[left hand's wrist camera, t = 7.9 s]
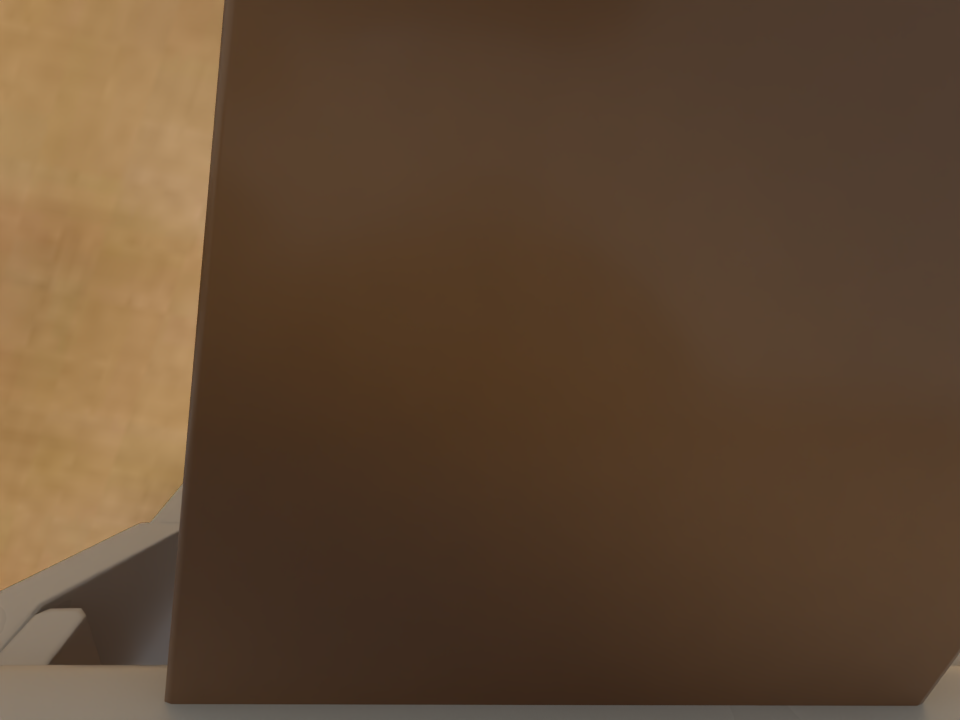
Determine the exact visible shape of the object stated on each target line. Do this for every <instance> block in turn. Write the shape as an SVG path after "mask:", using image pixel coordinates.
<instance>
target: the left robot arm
mask: <svg viewBox="0 0 960 720" xmlns="http://www.w3.org/2000/svg"><path fill="white" fill-rule="evenodd" d="M182 490H183V484H182V485H181V486H180V487H179V488H178V490H177V491H176V492H175V493H174V494H173V496H172V497H171V498H170V499H169V500H168V502H167V503H166V504H165V505H164V506H163V508H162V509H161V510H160V511H159V512H158V514H157V515H156V516H155V517H154V518H153V520H152V521H151V522H150V523H139V524H137V525H135V526H133V527H131V528H128V529H126V530H124V531H122V532H120V533H118V534H116V535H114V536H112V537H110V538H108V539H106V540H104V541H102V542H100V543H98V544H96V545H94V546H92V547H90V548H88V549H85V550H83V551H81V552H79V553H77V554H75V555H73V556H71V557H69V558H67V559H65V560H63V561H61V562H59V563H57V564H55V565H53V566H51V567H49V568H47V569H45V570H43V571H40V572H38V573H36V574H34V575H32V576H30V577H28V578H26V579H24V580H22V581H20V582H18V583H16V584H14V585H12V586H10V587H8V588H6V589H4V590H2V591H0V720H960V653H959V655H958V656H957V657H956V659H955V660H954V661H953V663H952V664H951V666H950V667H949V668H948V670H947V671H946V672H945V674H944V675H943V676H942V678H941V679H940V680H939V682H938V683H937V685H936V686H935V687H934V689H933V690H932V691H931V693H930V694H929V695H928V697H927V698H926V699H925V701H924V702H923V703H922V704H920V705H918V706H758V705H329V704H170V703H167V702H164V701H165V688H166V676H167V665H168V653H169V641H170V630H171V618H172V606H173V595H174V583H175V572H176V560H177V548H178V537H179V525H180V513H181V502H182Z"/></svg>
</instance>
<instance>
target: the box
mask: <svg viewBox="0 0 960 720" xmlns="http://www.w3.org/2000/svg"><path fill="white" fill-rule="evenodd" d="M959 653H960V0H225V1H224V13H223V24H222V36H221V48H220V59H219V71H218V83H217V94H216V106H215V118H214V129H213V141H212V153H211V164H210V176H209V187H208V199H207V211H206V222H205V234H204V246H203V257H202V269H201V281H200V292H199V304H198V315H197V327H196V339H195V350H194V362H193V374H192V385H191V397H190V409H189V420H188V432H187V444H186V455H185V467H184V478H183V490H182V502H181V513H180V525H179V537H178V548H177V560H176V572H175V583H174V595H173V606H172V618H171V630H170V641H169V653H168V665H167V676H166V688H165V701H164V702H167V703H170V704H329V705H758V706H918V705H920V704H922V703H923V702H924V701H925V699H926V698H927V697H928V695H929V694H930V693H931V691H932V690H933V689H934V687H935V686H936V685H937V683H938V682H939V680H940V679H941V678H942V676H943V675H944V674H945V672H946V671H947V670H948V668H949V667H950V666H951V664H952V663H953V661H954V660H955V659H956V657H957V656H958V655H959Z"/></svg>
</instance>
